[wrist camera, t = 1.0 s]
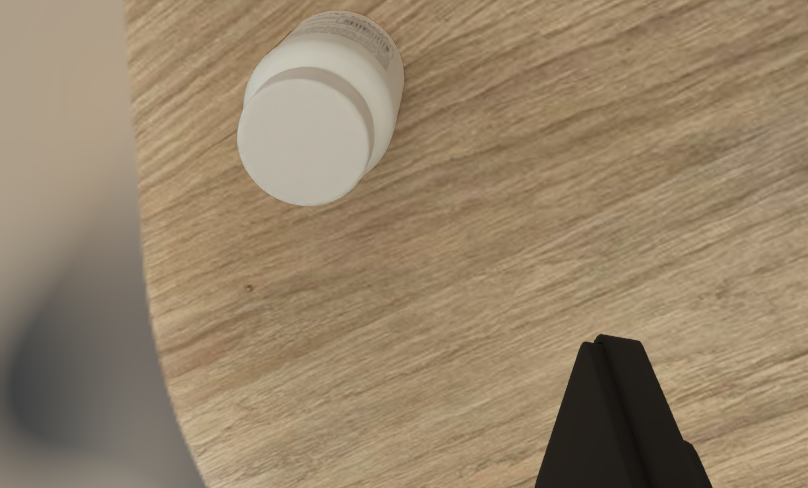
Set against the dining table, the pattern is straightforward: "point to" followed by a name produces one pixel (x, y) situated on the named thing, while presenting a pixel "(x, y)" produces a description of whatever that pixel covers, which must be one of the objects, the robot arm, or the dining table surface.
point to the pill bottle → (321, 108)
